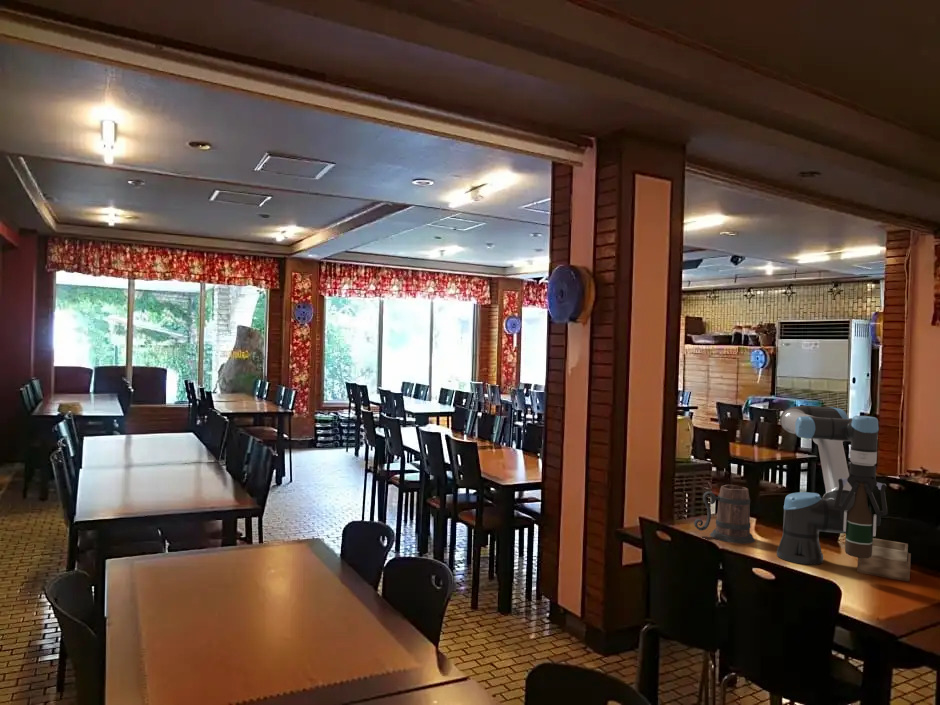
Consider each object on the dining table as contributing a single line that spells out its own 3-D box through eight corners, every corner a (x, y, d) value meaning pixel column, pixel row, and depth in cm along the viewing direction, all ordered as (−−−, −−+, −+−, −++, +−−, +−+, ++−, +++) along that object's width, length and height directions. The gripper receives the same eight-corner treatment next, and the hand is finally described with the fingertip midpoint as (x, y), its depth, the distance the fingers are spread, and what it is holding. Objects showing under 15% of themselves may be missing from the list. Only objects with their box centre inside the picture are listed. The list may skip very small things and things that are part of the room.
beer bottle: (870, 553, 230) (874, 481, 230) (873, 560, 223) (877, 485, 223) (843, 549, 233) (847, 478, 233) (845, 556, 226) (849, 482, 226)
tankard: (745, 532, 284) (747, 484, 284) (762, 544, 267) (764, 492, 267) (688, 530, 285) (690, 481, 285) (700, 541, 268) (703, 489, 268)
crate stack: (857, 572, 237) (858, 544, 237) (860, 561, 249) (861, 535, 249) (909, 581, 229) (910, 553, 228) (910, 570, 241) (911, 543, 241)
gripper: (826, 461, 230) (823, 529, 230) (899, 469, 219) (895, 541, 219) (828, 458, 236) (825, 525, 237) (900, 466, 225) (896, 536, 226)
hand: (859, 532), depth 228 cm, fingers closed on beer bottle, 8 cm apart
